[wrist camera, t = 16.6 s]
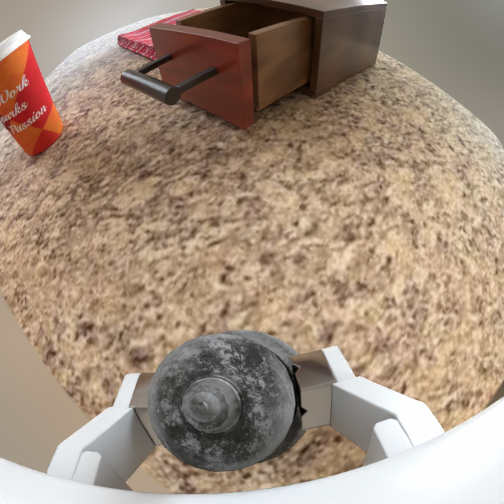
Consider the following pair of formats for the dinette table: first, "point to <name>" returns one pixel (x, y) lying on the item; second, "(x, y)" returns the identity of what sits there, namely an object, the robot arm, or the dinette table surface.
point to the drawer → (229, 59)
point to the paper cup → (26, 97)
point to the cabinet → (336, 37)
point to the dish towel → (147, 36)
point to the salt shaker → (226, 400)
